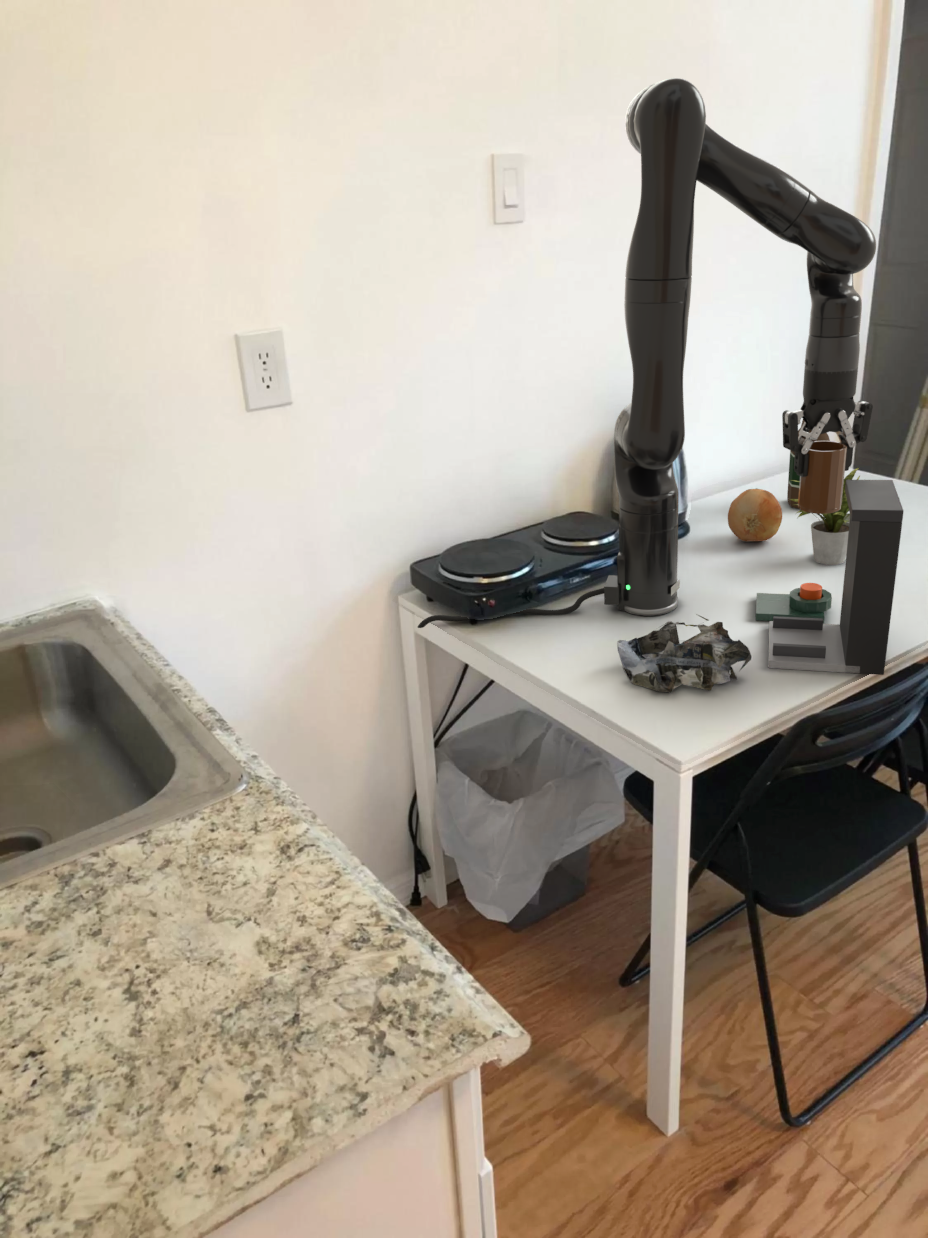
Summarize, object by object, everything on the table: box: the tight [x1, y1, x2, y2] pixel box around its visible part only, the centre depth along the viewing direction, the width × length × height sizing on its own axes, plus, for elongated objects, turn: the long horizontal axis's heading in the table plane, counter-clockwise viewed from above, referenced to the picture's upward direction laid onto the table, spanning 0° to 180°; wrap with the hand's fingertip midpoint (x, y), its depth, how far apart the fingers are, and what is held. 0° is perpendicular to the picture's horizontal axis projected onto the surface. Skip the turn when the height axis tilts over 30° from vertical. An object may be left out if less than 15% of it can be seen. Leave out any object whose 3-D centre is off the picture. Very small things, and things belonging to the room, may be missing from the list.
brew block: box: [755, 587, 833, 624], centre depth 147 cm, size 11×8×3 cm
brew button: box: [799, 582, 823, 600], centre depth 145 cm, size 3×3×2 cm
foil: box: [616, 614, 752, 693], centre depth 130 cm, size 12×11×15 cm
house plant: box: [790, 467, 861, 566], centre depth 162 cm, size 14×14×16 cm
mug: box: [798, 440, 847, 515], centre depth 148 cm, size 9×6×10 cm
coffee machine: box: [767, 479, 904, 676], centre depth 130 cm, size 15×13×24 cm
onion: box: [727, 488, 783, 542], centre depth 174 cm, size 10×10×10 cm
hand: (822, 472), depth 147 cm, fingers closed on mug, 6 cm apart
